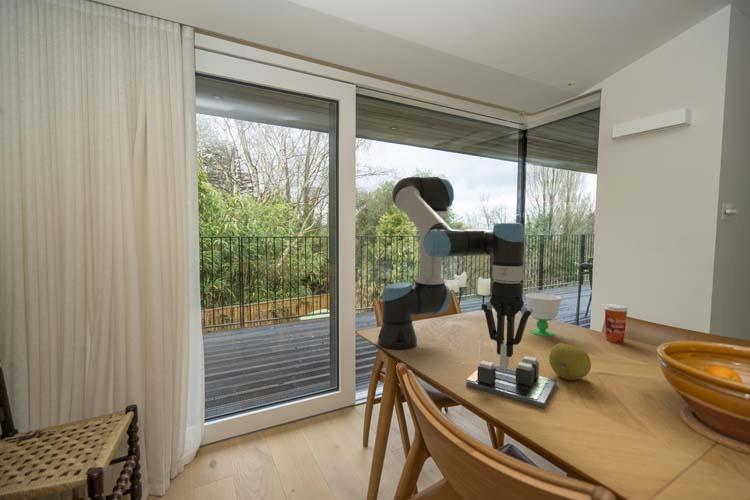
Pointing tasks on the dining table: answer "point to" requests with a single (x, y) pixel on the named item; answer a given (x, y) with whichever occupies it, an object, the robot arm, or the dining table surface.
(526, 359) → the breaker far row
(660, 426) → the dining table surface
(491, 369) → the block
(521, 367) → the breaker mid row
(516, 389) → the panel
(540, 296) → the cup
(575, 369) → the fruit
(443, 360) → the dining table surface
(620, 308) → the paper cup
